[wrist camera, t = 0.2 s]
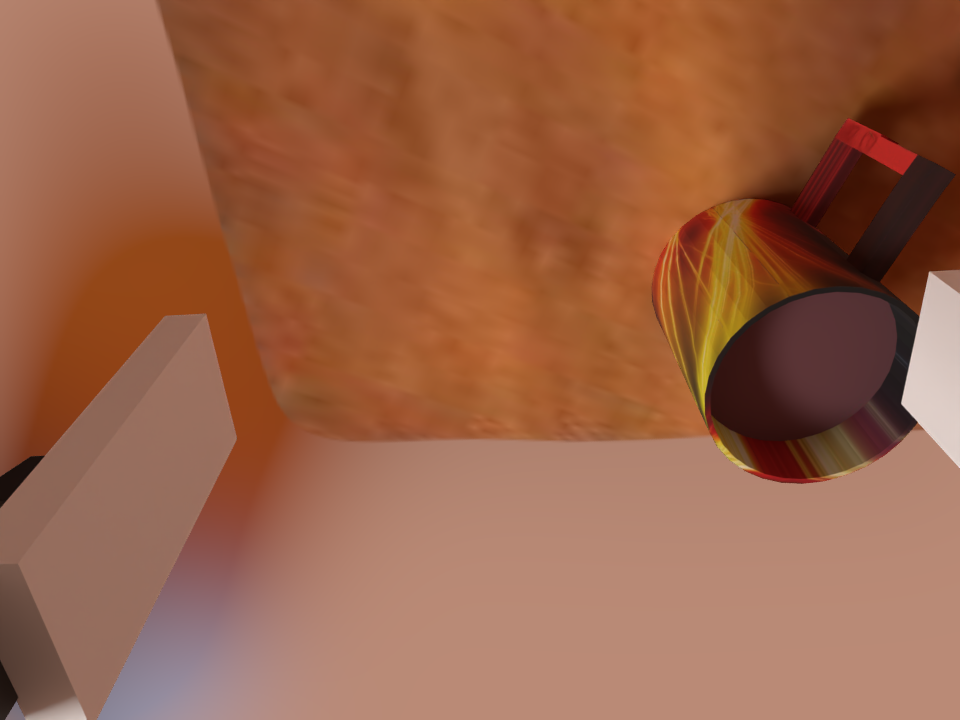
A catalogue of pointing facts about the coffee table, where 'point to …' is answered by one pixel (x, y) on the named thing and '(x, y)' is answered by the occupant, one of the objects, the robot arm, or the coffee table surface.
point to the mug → (798, 319)
